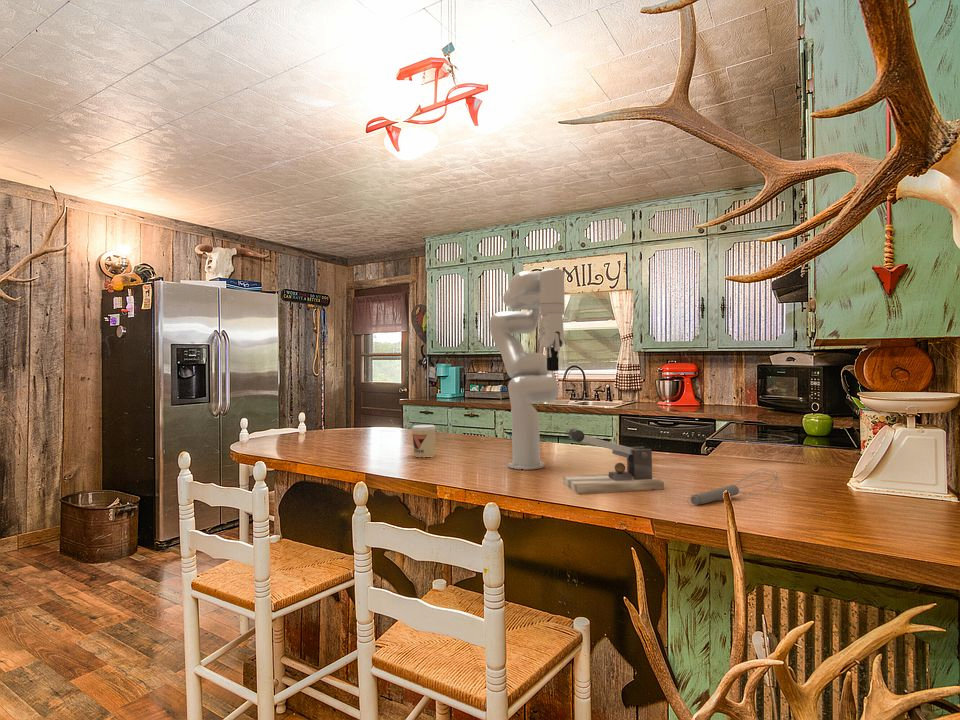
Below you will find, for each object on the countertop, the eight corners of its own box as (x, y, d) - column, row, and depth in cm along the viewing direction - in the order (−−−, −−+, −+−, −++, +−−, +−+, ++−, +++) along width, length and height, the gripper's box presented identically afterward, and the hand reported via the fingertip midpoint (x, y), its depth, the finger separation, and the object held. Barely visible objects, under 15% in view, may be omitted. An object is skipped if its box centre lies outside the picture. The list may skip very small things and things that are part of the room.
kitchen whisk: (678, 504, 138) (678, 479, 138) (766, 488, 153) (766, 466, 153) (697, 510, 132) (697, 484, 132) (787, 493, 147) (787, 470, 147)
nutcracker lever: (566, 440, 159) (569, 427, 159) (637, 459, 162) (640, 446, 162) (571, 443, 154) (575, 429, 154) (644, 462, 157) (648, 449, 157)
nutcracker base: (563, 482, 163) (562, 447, 163) (642, 478, 167) (641, 444, 167) (578, 494, 149) (577, 455, 149) (664, 488, 153) (663, 451, 153)
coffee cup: (407, 457, 213) (406, 426, 213) (424, 453, 221) (424, 424, 221) (424, 459, 207) (423, 428, 207) (441, 455, 214) (440, 425, 214)
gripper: (533, 311, 171) (534, 369, 172) (547, 308, 157) (547, 372, 157) (556, 311, 173) (556, 369, 173) (572, 308, 158) (572, 371, 158)
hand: (552, 370), depth 165 cm, fingers closed
